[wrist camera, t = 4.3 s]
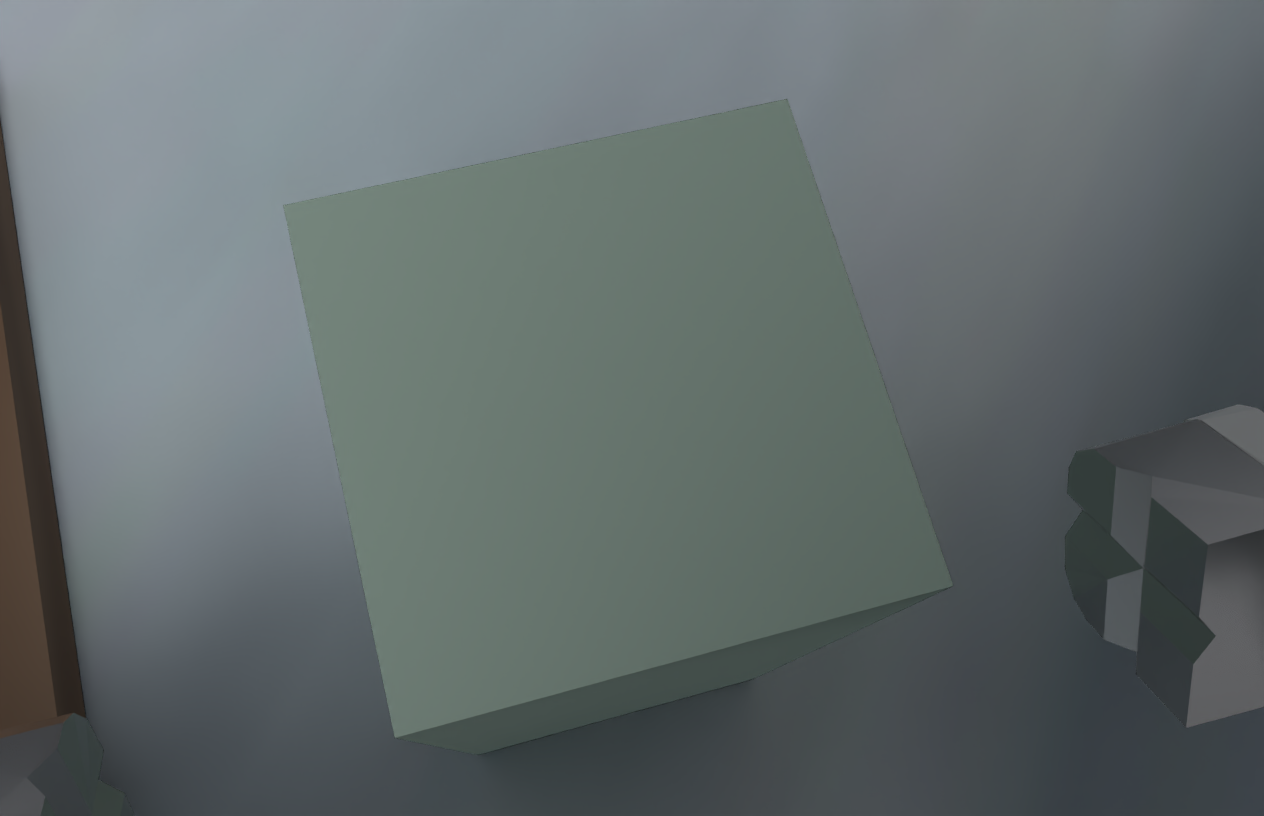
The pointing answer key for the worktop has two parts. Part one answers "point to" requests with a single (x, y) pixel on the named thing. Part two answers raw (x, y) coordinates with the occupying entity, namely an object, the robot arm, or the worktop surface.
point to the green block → (605, 427)
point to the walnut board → (28, 520)
